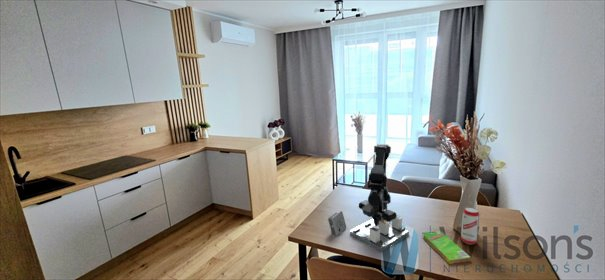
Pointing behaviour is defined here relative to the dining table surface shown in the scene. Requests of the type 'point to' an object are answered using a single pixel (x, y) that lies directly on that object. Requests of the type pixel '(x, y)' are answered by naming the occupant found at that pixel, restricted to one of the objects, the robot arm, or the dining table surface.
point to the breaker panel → (385, 240)
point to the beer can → (470, 225)
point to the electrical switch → (337, 223)
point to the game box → (446, 247)
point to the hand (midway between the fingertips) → (376, 225)
